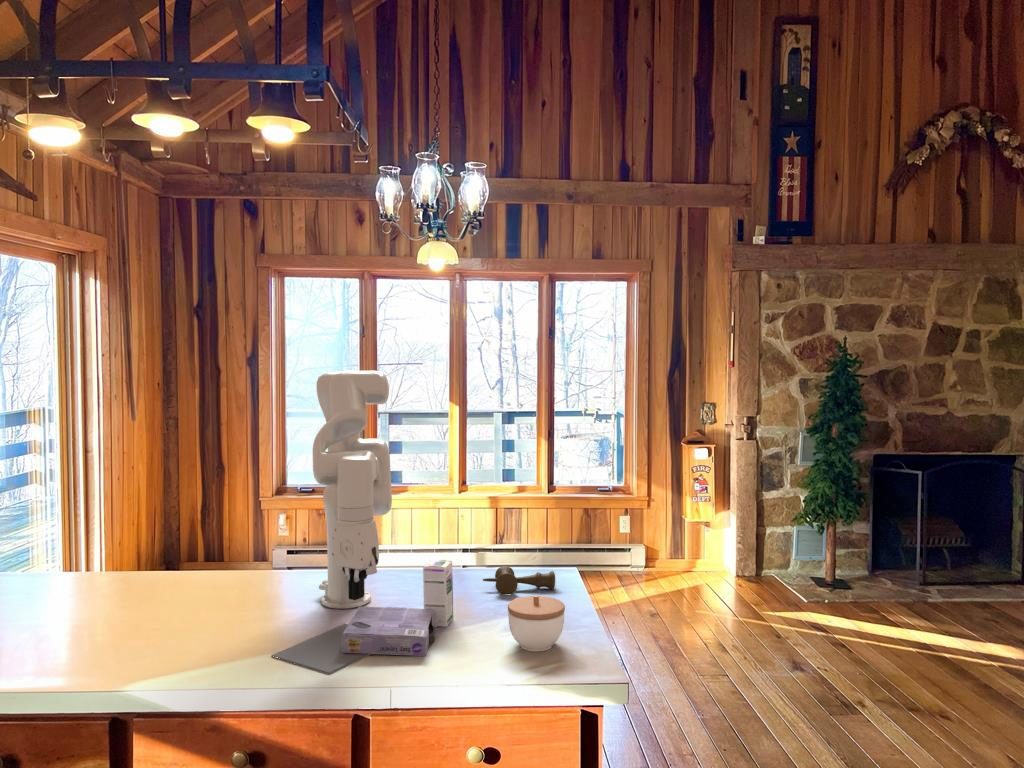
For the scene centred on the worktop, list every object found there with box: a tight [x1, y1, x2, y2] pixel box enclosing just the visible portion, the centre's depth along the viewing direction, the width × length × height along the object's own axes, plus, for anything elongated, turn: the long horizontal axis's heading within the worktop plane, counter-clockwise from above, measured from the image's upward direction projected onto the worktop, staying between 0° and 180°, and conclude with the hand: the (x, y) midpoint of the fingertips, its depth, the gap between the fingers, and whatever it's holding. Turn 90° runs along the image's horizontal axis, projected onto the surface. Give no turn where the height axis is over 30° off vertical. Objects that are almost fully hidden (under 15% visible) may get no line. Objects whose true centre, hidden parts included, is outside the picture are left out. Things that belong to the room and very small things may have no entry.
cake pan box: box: [342, 605, 436, 657], centre depth 169 cm, size 19×5×18 cm
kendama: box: [482, 565, 556, 595], centre depth 206 cm, size 6×10×20 cm
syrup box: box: [422, 559, 454, 628], centre depth 180 cm, size 6×6×14 cm
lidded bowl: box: [507, 594, 566, 652], centre depth 166 cm, size 13×13×11 cm
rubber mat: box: [271, 623, 371, 675], centre depth 165 cm, size 17×22×1 cm
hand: (356, 597), depth 162 cm, fingers closed
